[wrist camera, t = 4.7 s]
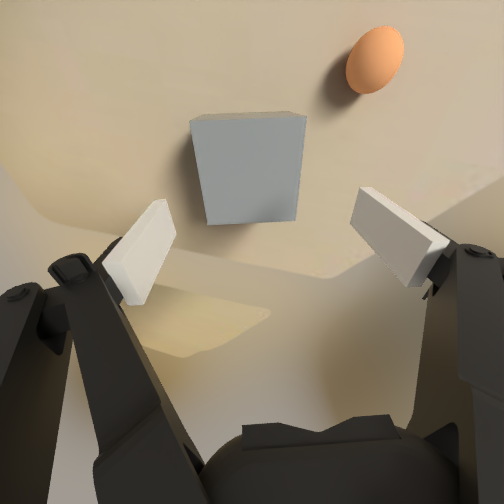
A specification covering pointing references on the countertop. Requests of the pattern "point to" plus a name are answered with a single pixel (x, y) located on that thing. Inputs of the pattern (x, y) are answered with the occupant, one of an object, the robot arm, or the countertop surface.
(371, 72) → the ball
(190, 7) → the countertop surface
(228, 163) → the gray tapered block
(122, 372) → the robot arm
